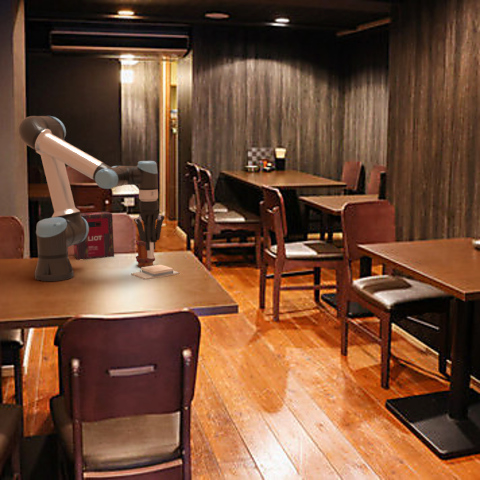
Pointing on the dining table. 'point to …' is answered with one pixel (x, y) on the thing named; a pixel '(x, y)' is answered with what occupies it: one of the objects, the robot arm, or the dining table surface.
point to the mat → (146, 276)
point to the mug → (143, 254)
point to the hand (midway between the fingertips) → (150, 258)
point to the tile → (157, 270)
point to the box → (96, 237)
